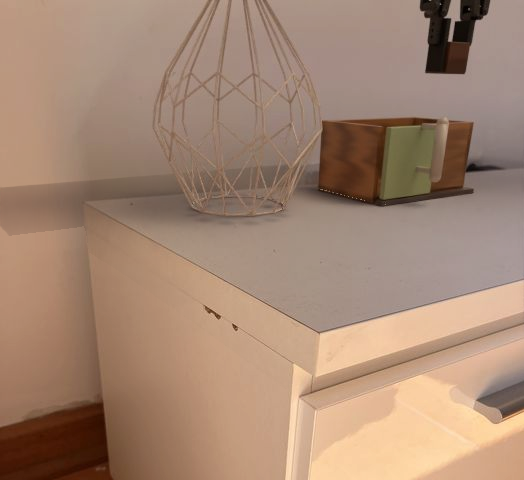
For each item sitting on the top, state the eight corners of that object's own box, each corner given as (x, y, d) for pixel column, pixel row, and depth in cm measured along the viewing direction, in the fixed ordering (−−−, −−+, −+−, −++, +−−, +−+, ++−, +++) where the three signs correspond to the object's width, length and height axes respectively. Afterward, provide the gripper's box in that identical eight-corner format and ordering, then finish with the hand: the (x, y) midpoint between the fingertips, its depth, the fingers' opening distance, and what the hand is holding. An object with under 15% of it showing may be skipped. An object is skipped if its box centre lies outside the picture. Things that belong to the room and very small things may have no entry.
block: (465, 74, 82) (470, 42, 80) (446, 73, 80) (451, 41, 78) (443, 73, 84) (447, 43, 83) (424, 73, 83) (428, 42, 81)
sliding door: (452, 198, 71) (465, 116, 67) (405, 205, 67) (416, 118, 63) (425, 192, 75) (435, 114, 70) (379, 198, 70) (387, 116, 66)
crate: (473, 192, 79) (485, 123, 75) (381, 206, 70) (390, 127, 66) (406, 179, 88) (413, 116, 84) (317, 190, 79) (321, 120, 75)
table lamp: (195, 239, 55) (173, -362, 37) (115, 198, 72) (74, -229, 54) (369, 214, 66) (415, -259, 48) (264, 184, 83) (270, -175, 65)
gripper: (493, -116, 79) (463, 72, 89) (405, -141, 70) (383, 70, 80) (543, -130, 73) (505, 73, 83) (454, -159, 64) (424, 70, 75)
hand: (445, 71), depth 82 cm, fingers closed on block, 4 cm apart
